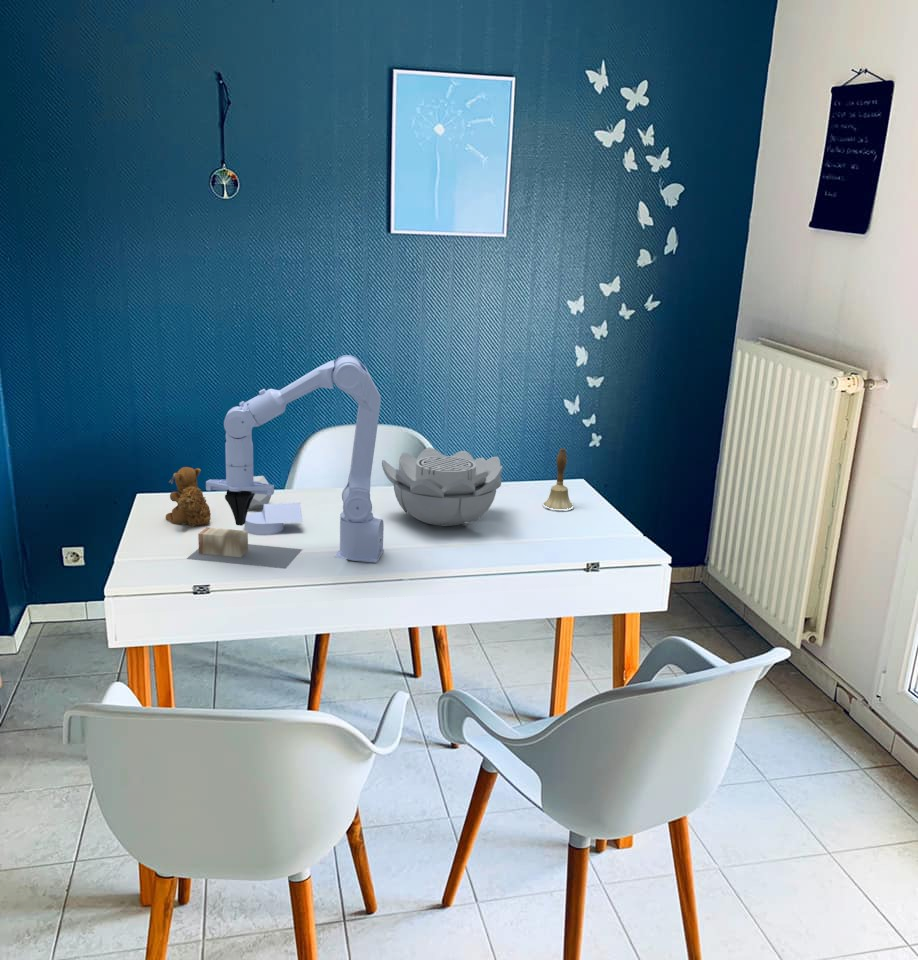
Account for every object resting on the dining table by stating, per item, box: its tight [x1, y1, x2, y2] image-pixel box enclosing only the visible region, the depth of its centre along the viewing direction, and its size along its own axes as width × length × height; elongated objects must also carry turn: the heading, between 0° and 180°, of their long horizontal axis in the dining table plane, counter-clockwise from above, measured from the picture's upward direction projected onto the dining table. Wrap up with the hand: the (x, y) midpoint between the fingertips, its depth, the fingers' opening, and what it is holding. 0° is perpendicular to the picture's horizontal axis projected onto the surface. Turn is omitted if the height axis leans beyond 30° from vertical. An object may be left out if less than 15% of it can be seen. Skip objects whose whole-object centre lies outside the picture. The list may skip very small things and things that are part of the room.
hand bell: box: [543, 448, 574, 509], centre depth 251 cm, size 8×8×16 cm
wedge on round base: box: [244, 502, 304, 536], centre depth 224 cm, size 9×7×13 cm
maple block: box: [197, 526, 249, 557], centre depth 208 cm, size 4×4×10 cm
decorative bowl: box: [381, 447, 503, 527], centre depth 236 cm, size 30×30×15 cm
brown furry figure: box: [165, 466, 212, 528], centre depth 226 cm, size 10×14×13 cm
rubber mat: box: [186, 543, 303, 569], centre depth 208 cm, size 22×12×1 cm, turn 82°
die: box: [249, 475, 272, 510], centre depth 241 cm, size 8×9×10 cm
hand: (240, 524), depth 206 cm, fingers closed
